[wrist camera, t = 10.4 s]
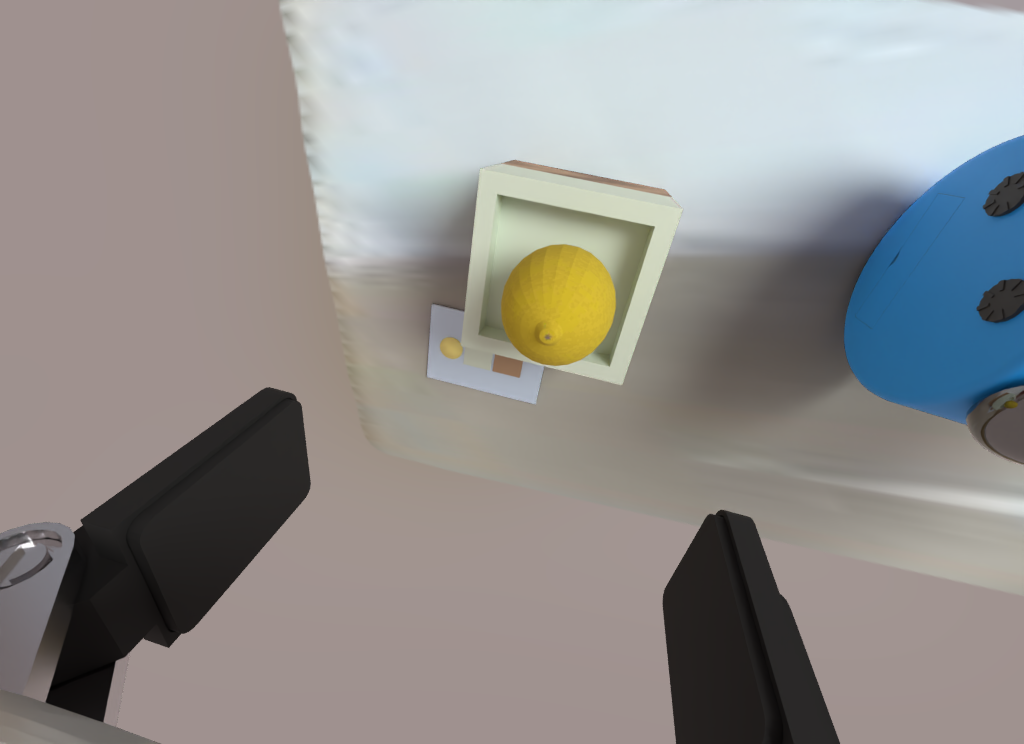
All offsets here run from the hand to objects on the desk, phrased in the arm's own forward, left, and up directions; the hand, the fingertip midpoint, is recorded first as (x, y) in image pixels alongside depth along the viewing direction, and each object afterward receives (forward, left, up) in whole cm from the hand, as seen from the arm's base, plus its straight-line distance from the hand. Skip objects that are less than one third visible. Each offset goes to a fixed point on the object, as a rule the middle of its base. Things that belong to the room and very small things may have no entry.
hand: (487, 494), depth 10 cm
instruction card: (+5, +10, -24) cm, 27 cm away
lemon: (0, 0, -17) cm, 17 cm away
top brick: (0, 0, -20) cm, 20 cm away
